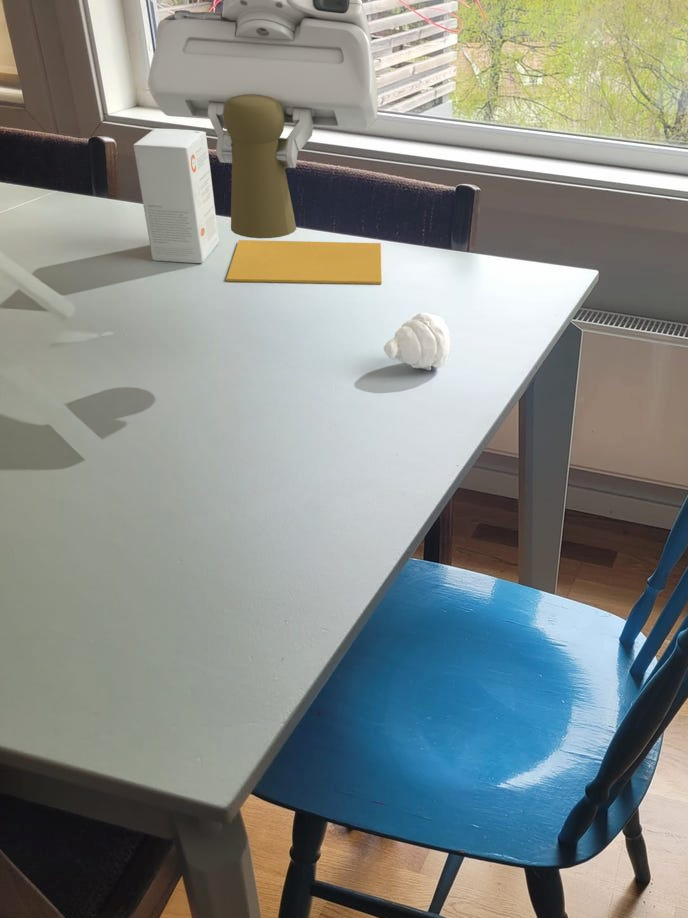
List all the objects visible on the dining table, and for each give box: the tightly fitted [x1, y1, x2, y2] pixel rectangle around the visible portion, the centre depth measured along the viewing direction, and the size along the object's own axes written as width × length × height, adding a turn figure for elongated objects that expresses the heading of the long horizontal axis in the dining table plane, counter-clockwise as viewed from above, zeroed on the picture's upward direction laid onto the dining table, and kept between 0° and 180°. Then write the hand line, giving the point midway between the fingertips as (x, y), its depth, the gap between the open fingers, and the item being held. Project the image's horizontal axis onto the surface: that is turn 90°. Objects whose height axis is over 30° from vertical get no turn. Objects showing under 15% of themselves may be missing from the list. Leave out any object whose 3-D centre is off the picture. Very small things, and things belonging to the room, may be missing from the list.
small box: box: [132, 127, 220, 264], centre depth 119 cm, size 8×6×13 cm
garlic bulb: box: [383, 312, 451, 371], centre depth 98 cm, size 6×6×5 cm
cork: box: [223, 94, 297, 239], centre depth 89 cm, size 6×6×11 cm
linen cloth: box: [225, 239, 382, 285], centre depth 122 cm, size 18×14×1 cm
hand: (256, 161), depth 88 cm, fingers closed on cork, 4 cm apart
